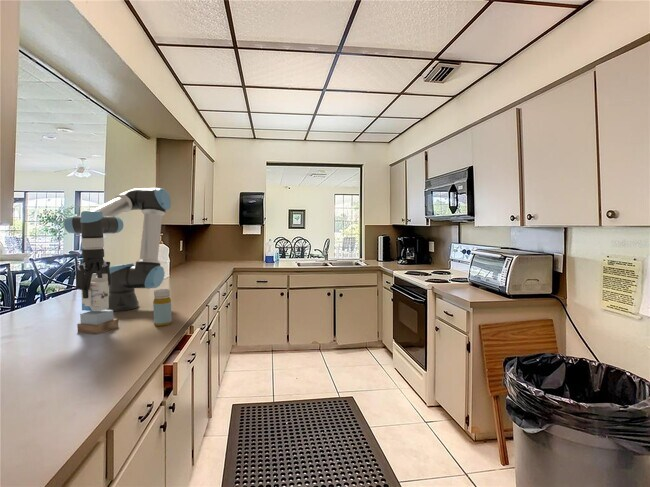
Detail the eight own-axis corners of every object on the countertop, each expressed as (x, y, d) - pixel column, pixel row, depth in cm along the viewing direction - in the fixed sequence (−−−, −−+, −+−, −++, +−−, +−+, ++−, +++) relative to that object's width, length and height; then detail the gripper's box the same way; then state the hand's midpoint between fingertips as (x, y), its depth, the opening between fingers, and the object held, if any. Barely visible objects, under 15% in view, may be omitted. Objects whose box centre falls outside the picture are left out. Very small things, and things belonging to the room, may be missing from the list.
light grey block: (97, 318, 146) (97, 309, 145) (113, 319, 144) (113, 310, 144) (80, 323, 138) (80, 313, 138) (97, 324, 136) (96, 314, 136)
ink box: (81, 310, 138) (80, 274, 138) (90, 307, 143) (89, 273, 143) (100, 311, 138) (99, 275, 137) (109, 308, 143) (108, 273, 142)
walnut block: (99, 326, 147) (99, 317, 147) (118, 328, 145) (118, 318, 145) (77, 333, 138) (77, 323, 137) (97, 335, 135) (96, 325, 135)
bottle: (151, 324, 149) (150, 290, 148) (167, 321, 154) (166, 288, 153) (157, 327, 144) (156, 292, 143) (174, 324, 149) (173, 290, 148)
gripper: (106, 246, 149) (108, 298, 151) (63, 250, 131) (65, 309, 133) (119, 247, 147) (121, 299, 149) (78, 250, 129) (80, 310, 131)
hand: (95, 304), depth 141 cm, fingers open, 6 cm apart
